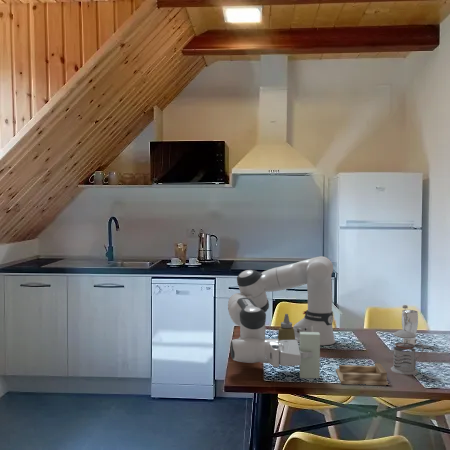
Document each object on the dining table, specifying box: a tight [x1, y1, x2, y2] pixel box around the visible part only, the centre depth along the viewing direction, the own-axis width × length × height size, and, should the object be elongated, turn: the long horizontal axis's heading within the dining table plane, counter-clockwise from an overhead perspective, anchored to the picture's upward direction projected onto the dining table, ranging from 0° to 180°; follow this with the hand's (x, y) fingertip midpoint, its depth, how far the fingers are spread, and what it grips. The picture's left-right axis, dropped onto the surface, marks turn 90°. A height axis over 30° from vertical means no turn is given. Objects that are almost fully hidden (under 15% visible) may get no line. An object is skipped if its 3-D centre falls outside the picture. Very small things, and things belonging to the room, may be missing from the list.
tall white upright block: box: [298, 332, 321, 379], centre depth 174 cm, size 7×4×16 cm, turn 85°
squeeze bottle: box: [277, 313, 295, 341], centre depth 197 cm, size 8×8×18 cm
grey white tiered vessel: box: [390, 304, 425, 376], centre depth 181 cm, size 10×12×25 cm
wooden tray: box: [335, 363, 389, 386], centre depth 173 cm, size 16×13×4 cm
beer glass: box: [401, 309, 419, 346], centre depth 217 cm, size 7×7×15 cm
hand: (312, 352), depth 174 cm, fingers closed on tall white upright block, 3 cm apart
